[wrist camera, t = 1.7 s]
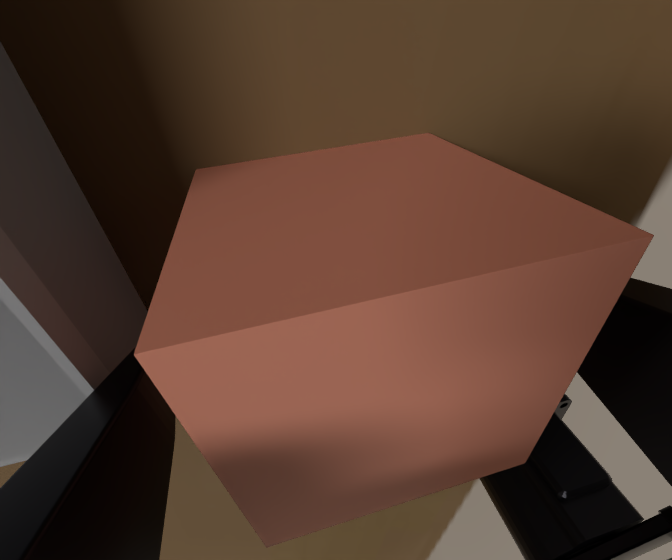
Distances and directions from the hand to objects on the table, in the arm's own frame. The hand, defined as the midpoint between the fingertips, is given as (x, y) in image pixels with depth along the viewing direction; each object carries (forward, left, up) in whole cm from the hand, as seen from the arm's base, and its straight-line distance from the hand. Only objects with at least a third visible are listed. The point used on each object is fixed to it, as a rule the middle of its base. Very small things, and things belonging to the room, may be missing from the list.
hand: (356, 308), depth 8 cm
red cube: (0, 0, -3) cm, 3 cm away
